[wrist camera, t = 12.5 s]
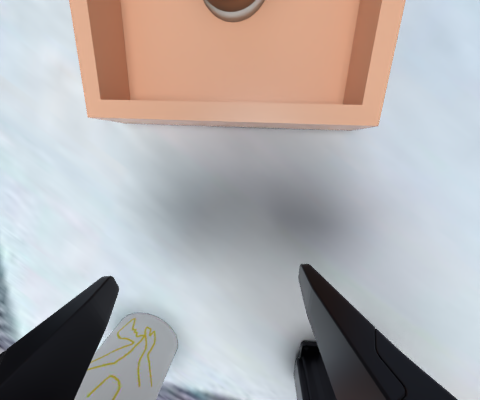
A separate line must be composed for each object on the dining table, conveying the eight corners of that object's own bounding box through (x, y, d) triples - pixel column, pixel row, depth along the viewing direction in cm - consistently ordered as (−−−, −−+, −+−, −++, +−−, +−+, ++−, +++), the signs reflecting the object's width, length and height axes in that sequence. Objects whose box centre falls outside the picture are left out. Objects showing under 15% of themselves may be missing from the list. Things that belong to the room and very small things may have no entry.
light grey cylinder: (179, 320, 24) (101, 482, 12) (176, 367, 26) (109, 542, 15) (116, 307, 24) (-14, 451, 13) (119, 355, 27) (10, 513, 15)
